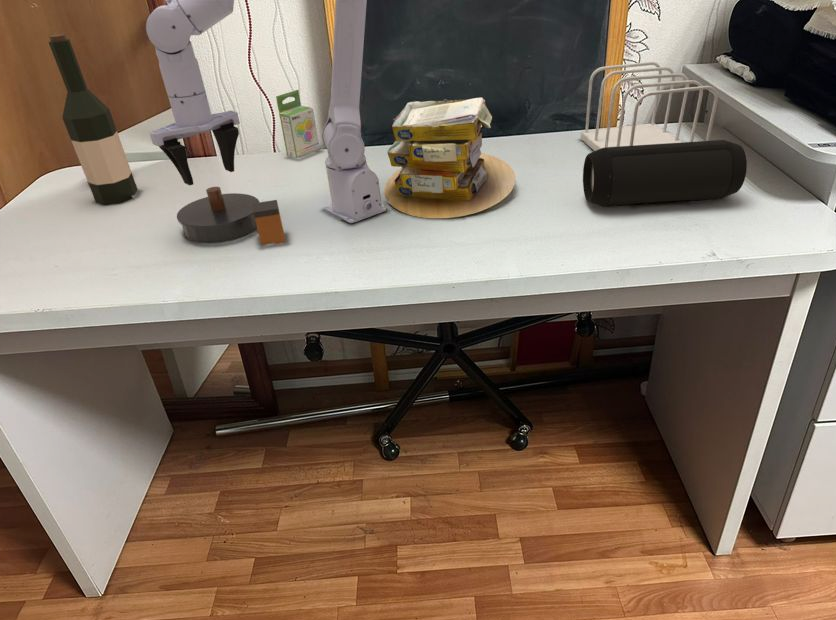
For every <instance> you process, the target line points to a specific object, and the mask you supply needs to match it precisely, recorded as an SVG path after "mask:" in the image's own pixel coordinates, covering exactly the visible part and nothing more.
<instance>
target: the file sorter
mask: <svg viewBox="0 0 836 620" xmlns="http://www.w3.org/2000/svg"><path fill="white" fill-rule="evenodd" d="M645 66H655V67H646V68H636V67H645ZM626 68H632V69H626ZM634 68H635V69H634ZM617 69H622V70H617ZM608 70H613V71H611V72H609V73H607V74H606V75H605V76H604V77H603V79H602V81H601V83H600V84H601V85H600V91H599V100H598V107H597V116H596V125H595V129H590V130H589V125H590V115H591V114H590V113H591V103H592V101H591V100H592V90H593V81H594V78H595V76H596V75H597V74H599V72H601V71H608ZM663 71H667V72H669V73H663ZM649 72H658V74H648V75H637V76H625V77H623V78H622V77H621V78H620V79H619V80H618V81H617V82H616V83H615V84H614V85H613V87H612V90H611V94H610V95H611V96H610V102H609V110H608V117H607V125H606V128H600V123H601V115H602V106H603V97H604V92H605V91H604V90H605V85H606V82H607V81H608V79H609V78H611V77H613V76H615V75H622V74H623V75H624V74H635V73H649ZM666 78H667V79H668V78H671V81H663V82H662V79H666ZM676 78H682V79H683V80H676ZM652 79H653V80H654V79H655V80H656V79H657V82H651V83H649V82H648V83H638V84H634V85H631V86H630V87H629V88H628V89H627V90H626V91H625V92H624V95H623V96H622V102H621V108H620V116H619V123H618V126H615V127H611V124H612V118H613V117H612V116H613V110H614V103H615V95H616V91H617V88H618V87H619V86H620V85H621V84H622V83H624V82H628V81H629V82H630V81H639V80H641V81H643V80H652ZM679 85H680V86H681V85H685V87H681V88H680V87H679V88H675V86H679ZM690 85H696V86H692V87H690ZM667 86H670V89H663V90H660V88H661V87H667ZM655 87H656V90H653V91H648V92H645V93H643V94H642V95H640V97H639V98H638V99H637V101H636V102H635V105H634V110H633V117H632V122H631V123H632V124H631V125H624V126H623V124H624V118H625V117H624V116H625V108H626V101H627V98H628V95H629V94H630V93H631V92H632V91H633V90H636V89H641V88H655ZM704 90H705V91H706V90H709V91H711V93H712V94H713V98H714V99H713V104H712V109H711V113H710V119H709V124H708V128H707V132H706V136H705V141H711V136H712V131H713V126H714V121H715V116H716V111H717V107H718V101H719V94H718V91H717V89H716V88H715V87H713V86H711V85H702V84H701V82H700V81H697V80H694V79H690V80H689V78H688V77H687V76H686V75H685V74H683V73H680V72H679V73H678V72H677V73H675V72H674V70H673V69H672V68H670V67H668V66H661V65H660V64H659V63H657V62H655V61H645V62H636V63H626V64H615V65H606V66H601V67H598V68H596V69H595V70H594V71H593V72H592V74H591V75H590V77H589V83H588V93H587V106H586V115H585V116H586V117H585V128H584V130H582V131H581V133H580V140H582V141H583V142H584V143H585V144H586V145H587V146H588V147H589V148H591V149H592V150H593V152H594V151H596V150H598V149H601V148H605V147H619V146H635V145H650V144H666V143H681V142H684V141H683V140H681V139H680V138H679V137H680V133H681V128H682V123H683V119H684V114H685V109H686V104H687V99H688V94H689V92H695V91H696V92H697V91H699V93H698V99H697V103H696V105H697V106H696V108H695V114H694V118H693V122H692V128H691V131H690V132H691V133H690V137H689V142H694V139H695V133H696V130H697V124H698V119H699V115H700V111H701V105H702V101H703V95H704ZM675 93H676V94H677V93H684V94H683V99H682V103H681V108H680V114H679V118H678V123H677V129H676V134H675V135H674V134H672V133H671V132H670V131H668V130H667V128H668V122H669V117H670V111H671V105H672V99H673V95H674V94H675ZM667 94H668V100H667V106H666V111H665V117H664V123H663V127H662V126H660V125H658V124H657V123H656V122H655V121H656V115H657V109H658V103H659V95H667ZM650 96H655V98H654V104H653V111H652V117H651V123H650V122H649V123H640V124H637V117H638V112H639V106H640V104H641V103H642V101H644V99H646V98H647V97H650Z"/></svg>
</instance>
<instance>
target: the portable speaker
mask: <svg viewBox="0 0 836 620" xmlns="http://www.w3.org/2000/svg"><path fill="white" fill-rule="evenodd" d="M747 166H748V161H747V155H746V151H745V149H744V147H742V145H740V144H738V143H735V142H732V141H729V140H726V139H715V140H709V141H706V140H701V141H700V140H699V141H698V140H697V141H693V142H690V141H683V142H681V143H666V144H650V145H635V146H619V147H605V148H601V149H598V150H596V151H594V150H593V151H592V152H590V153H588V154H587V155H586V156H585V159H584V162H583V167H582V168H583V169H582V188H583V194H584V198H585V201H586V202H587V203H590V204H593V205H596V206H600V207H602V208H614V207H615V208H616V207H628V206H629V207H630V206H631V207H633V206H646V205H647V206H649V205H660V204H661V205H663V204H679V203H694V202H707V201H716V200H723V199H725V198H726V197H729V196H731V195H734V194H736V193H738V192H739V191H740V190H741V188H743V185H744V183H745V179H746V176H747V168H748V167H747Z"/></svg>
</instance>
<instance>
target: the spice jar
mask: <svg viewBox="0 0 836 620" xmlns="http://www.w3.org/2000/svg"><path fill="white" fill-rule="evenodd" d="M253 213H254V217H255V221H256V226H257V229H256V230H257V234H258V238H259V241H260V245H261V246H264V245H272V246H273V245H277V244H284V243H286V238H285V237H286V236H285V232H284V231H285V230H284V226H283V222H282V218H281V213H280V207H279V203H278V200H277V199H272V200H267V201H259V203H253Z"/></svg>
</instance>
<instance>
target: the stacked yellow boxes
mask: <svg viewBox="0 0 836 620" xmlns="http://www.w3.org/2000/svg"><path fill="white" fill-rule="evenodd" d="M492 120H493V116H492V113H490V111H489V109H488V107H487V102H486V100H485V99H484V98H483V97H475V98H469V99H463V100H461V99H458V100H457V99H454V100H452V99H451V100H448V99H446V98H444V99H443V100H439V101H438V100H427V101H416V100H413V101H410V102H407V103H406V105H405V106H404V108H402V110H401V111H400V113H398V115H396V116H395V118H393V119H392V121H393V124H392V125H391V128H392V132H393V136H394V139H395V141H393V144H391V146H390V147H389V148H388V150H387V152H386V153H387V156H388V159H389V162H390V166H391V167H395V168H397V167H398V168H399V169H398V170H397V171H395V172H394V173H393V174H391V176H390V177H389V178H388V180H387V182H386V184H385V185H384V186H385V187H384V196H385V199H386V200H387V202H388V204H389V205H390V206H392V207H393V208H394V209H396V210H397V211H399V212H401V213H403V214H407V215H409V216H413V217H417V218H418V217H419V218H423V219H424V218H426V219H451V218H452V219H453V218H460V217H464V216H465V217H466V216H468V215H472V214H475V213H479V212H483V211H484V210H487V209H490V208H492V207H493V206H495V205H497V204H498V203H500V202H502V201H503V200H504V199H505V198H507V196H509V194H510V193H511V192H512V190H513V189H514V188H515V187H514V186H515V184H516V174H515V171H514V169H513V168H512V167H511V165H510V164H509V163H507V162H506V161H505V160H503V159H501V158H500V157H496V156H494V155H491V154H487V153H483V152H482V151H481V148H482V146H483V137H482V131H481V128H482V126H483V127H485V128H486V129H491V128H492V126H491V123H492Z"/></svg>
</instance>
